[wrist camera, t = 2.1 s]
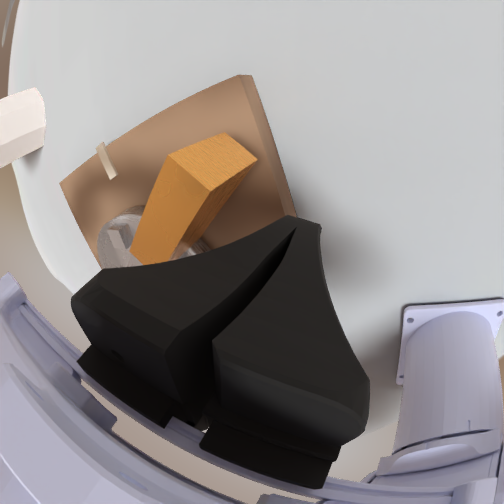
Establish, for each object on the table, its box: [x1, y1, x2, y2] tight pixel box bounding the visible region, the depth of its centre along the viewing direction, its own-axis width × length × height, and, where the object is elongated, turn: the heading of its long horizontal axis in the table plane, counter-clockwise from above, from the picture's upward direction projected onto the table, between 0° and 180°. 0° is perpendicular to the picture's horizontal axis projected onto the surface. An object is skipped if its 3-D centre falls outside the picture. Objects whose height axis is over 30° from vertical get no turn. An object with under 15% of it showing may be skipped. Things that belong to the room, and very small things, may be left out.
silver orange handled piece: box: [97, 132, 258, 269], centre depth 16 cm, size 20×12×6 cm, turn 145°
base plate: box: [59, 75, 297, 269], centre depth 21 cm, size 22×22×2 cm
